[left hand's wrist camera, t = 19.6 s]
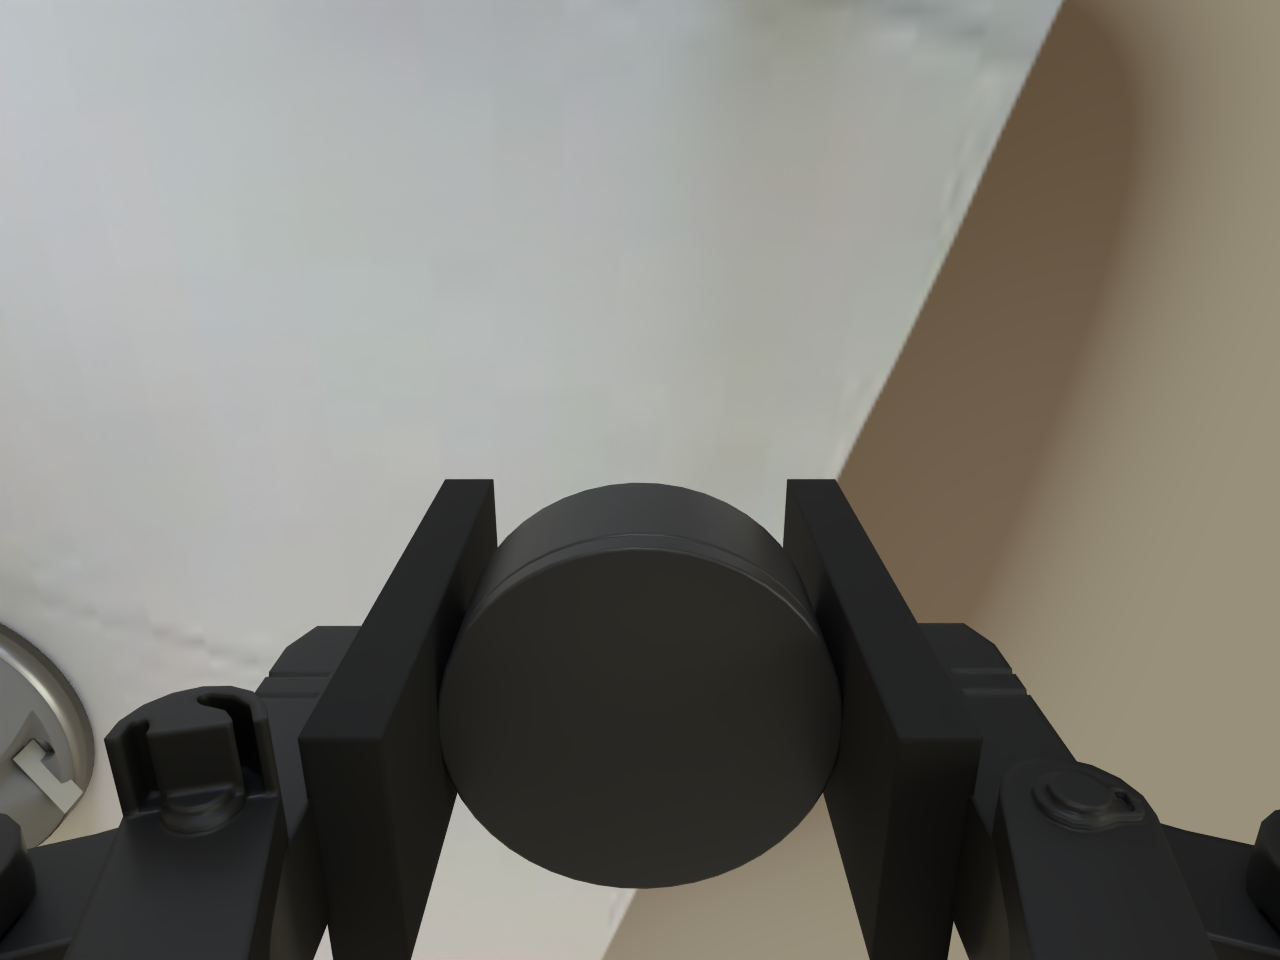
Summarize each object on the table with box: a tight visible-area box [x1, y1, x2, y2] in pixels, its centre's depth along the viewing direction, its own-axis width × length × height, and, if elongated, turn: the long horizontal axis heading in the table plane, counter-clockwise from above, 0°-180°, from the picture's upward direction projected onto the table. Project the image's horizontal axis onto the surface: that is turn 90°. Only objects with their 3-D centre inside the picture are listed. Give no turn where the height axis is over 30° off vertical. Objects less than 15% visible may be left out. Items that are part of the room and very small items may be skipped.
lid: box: [438, 483, 843, 889], centre depth 11 cm, size 5×5×2 cm
